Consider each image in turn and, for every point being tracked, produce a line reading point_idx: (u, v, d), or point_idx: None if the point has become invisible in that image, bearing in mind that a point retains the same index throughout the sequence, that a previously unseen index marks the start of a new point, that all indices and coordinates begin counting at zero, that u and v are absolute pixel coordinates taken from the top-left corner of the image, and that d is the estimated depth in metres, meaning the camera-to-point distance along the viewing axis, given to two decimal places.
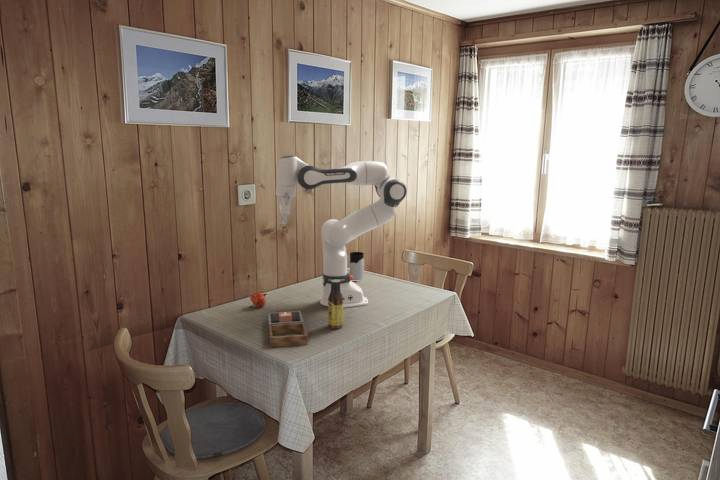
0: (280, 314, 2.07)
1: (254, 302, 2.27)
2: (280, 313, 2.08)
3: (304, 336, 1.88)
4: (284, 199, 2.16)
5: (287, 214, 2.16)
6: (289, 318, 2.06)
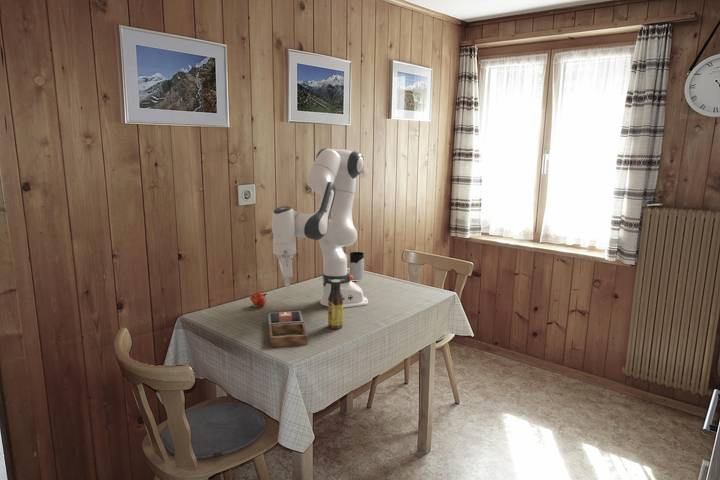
0: (280, 314, 2.07)
1: (254, 302, 2.27)
2: (280, 313, 2.08)
3: (304, 336, 1.88)
4: (284, 260, 1.88)
5: (289, 276, 1.88)
6: (289, 318, 2.06)
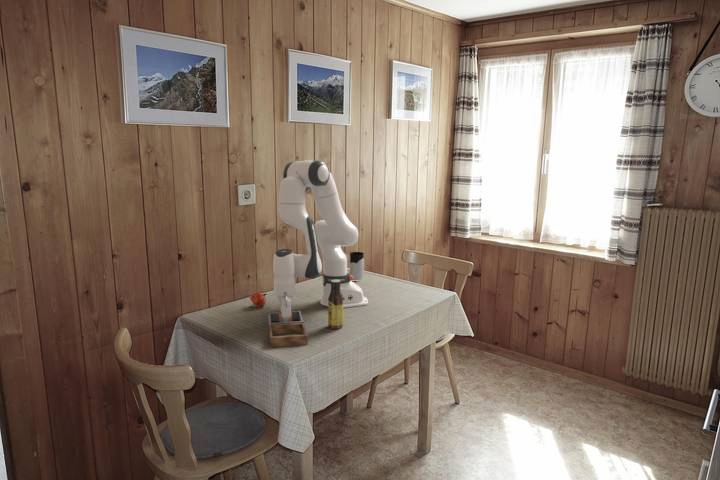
0: (280, 314, 2.07)
1: (254, 302, 2.27)
2: (280, 313, 2.08)
3: (304, 336, 1.88)
4: (283, 301, 1.97)
5: (288, 317, 1.98)
6: (289, 318, 2.06)
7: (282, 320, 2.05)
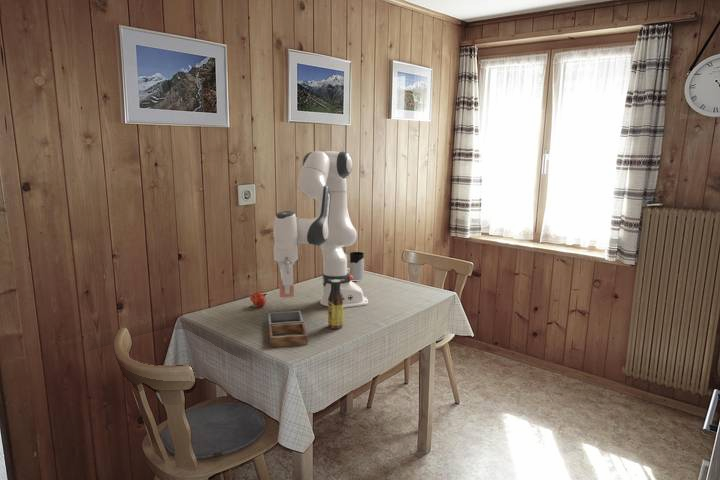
0: (281, 282, 1.89)
1: (254, 302, 2.27)
2: (281, 281, 1.91)
3: (304, 336, 1.88)
4: (284, 267, 1.80)
5: (290, 284, 1.80)
6: (291, 287, 1.88)
7: (283, 289, 1.88)
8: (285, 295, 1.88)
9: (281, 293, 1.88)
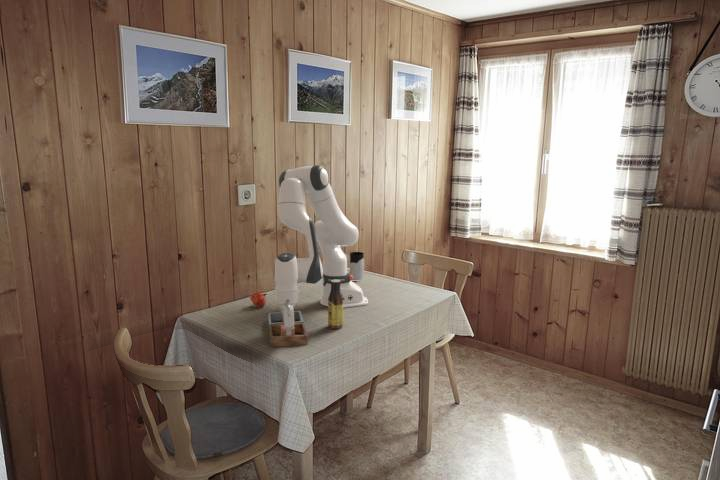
0: (282, 327, 1.93)
1: (254, 302, 2.27)
2: (282, 325, 1.94)
3: (304, 336, 1.88)
4: (286, 310, 1.83)
5: (291, 326, 1.83)
6: (292, 331, 1.91)
7: (284, 334, 1.91)
8: None
9: None
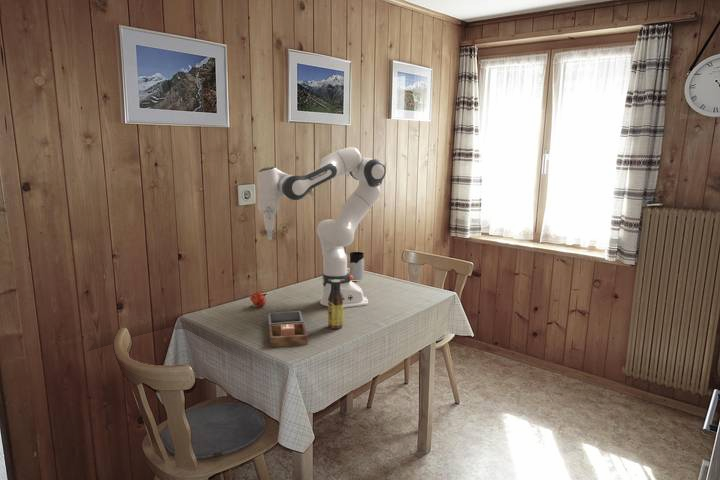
0: (282, 327, 1.93)
1: (254, 302, 2.27)
2: (282, 325, 1.94)
3: (304, 336, 1.88)
4: (267, 214, 2.06)
5: (271, 229, 2.06)
6: (292, 331, 1.91)
7: (284, 334, 1.91)
8: None
9: None
